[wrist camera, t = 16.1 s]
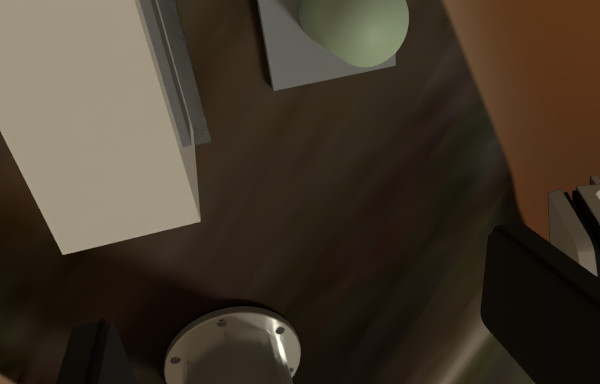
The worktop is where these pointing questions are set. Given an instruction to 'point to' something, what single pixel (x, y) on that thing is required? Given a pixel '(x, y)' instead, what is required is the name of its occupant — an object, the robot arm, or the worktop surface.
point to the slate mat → (299, 49)
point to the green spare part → (356, 28)
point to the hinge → (577, 224)
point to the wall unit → (101, 116)
